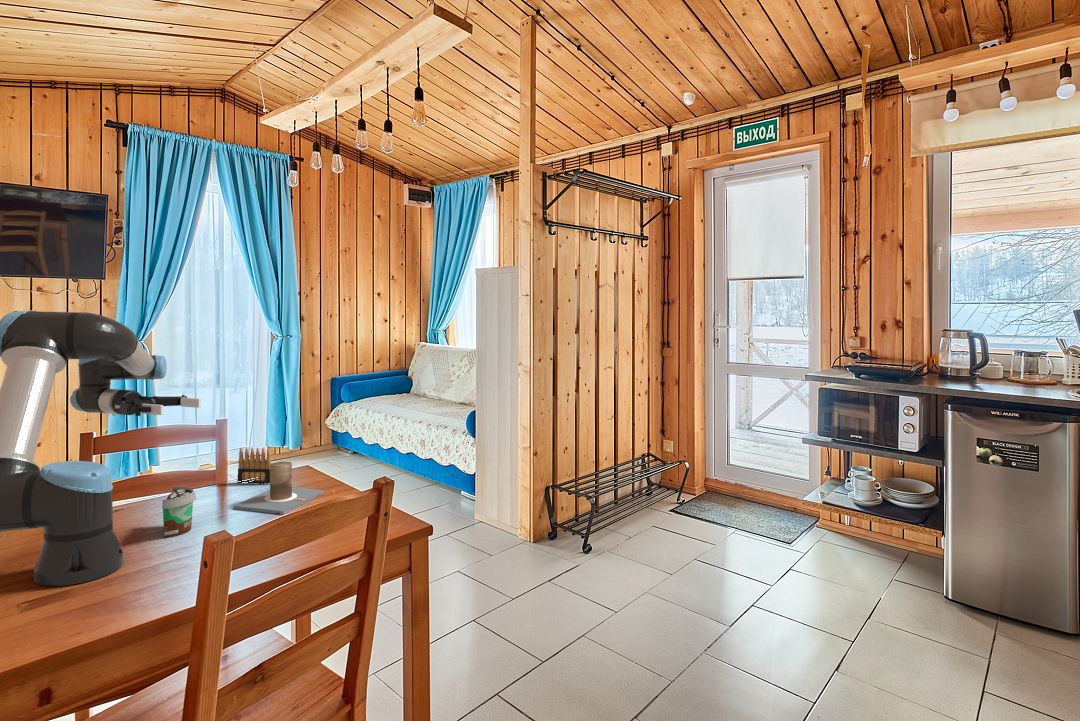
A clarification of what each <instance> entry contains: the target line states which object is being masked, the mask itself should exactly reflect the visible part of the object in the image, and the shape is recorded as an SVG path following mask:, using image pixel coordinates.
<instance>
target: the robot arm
mask: <svg viewBox="0 0 1080 721" xmlns="http://www.w3.org/2000/svg"><path fill="white" fill-rule="evenodd" d="M0 359H1V362H2V363H3V364H4V365H5V366H6V370H5V373H4V376H3V380H2V383H1V387H0V532H8V531H21V530H31V529H42V531H43V544H42V546H41V549H40V552H39V555H38V559H37V561H36V564H35V566H34V569H33V580H34V581H33V582H35V583H36V584H38V585H40V586H45V587H63V586H71V585H76V584H77V585H78V584H83V583H86V582H90V581H94V580H97V579H100V578H103V577H106V576H109V575H110V574H112V573H114V572H116V571H117V570H119V569H121V567H122V566H123V565H124V561H125V560H124V559H125V558H124V557H125V556H124V555H125V554H124V551H123V548H122V546H121V544H120V543H119V542H120V541H119V540H118V537H117V536H116V534H115V532H114V525H113V524H114V521H113V520H114V514H113V512H114V511H113V508H114V507H113V489H114V485H113V483H112V473H111V470H110V468H108V466H106V465H104V464H101V463H99V462H94V461H89V460H88V461H86V460H67V461H56V462H55V461H54V462H50V463H47V464H45V465H43V466H42V467H40V465H38V463H36V462H35V461H34V459H35V456H36V451H37V447H38V444H39V443H38V442H39V440H40V439H39V438H40V435H41V431H42V427H43V424H44V419H45V415H46V411H47V408H48V404H49V401H50V400H49V399H50V395H51V392H52V388H53V383H54V380H55V376H56V374H58V373H60V372H61V371H63V370H64V369H65V368H66V364H67V361H68V360H78V364H77V366H78V377H79V378H78V380H79V385H78V388H76V389H74V390H73V391H72V394H71V396H70V398H69V402H70V405H71V407H73V408H74V409H75V410H77V411H79V412H85V413H93V414H94V413H97V414H111V415H112V416H114V417H115V416H116V415H121V416H133V415H135V417H141V414H144V415H155V416H158V415H159V416H163V415H164V407H177V406H179V407H186V408H187V407H188V408H202V403H201V401H202V400H201V398H198V397H197V398H196V397H195V398H194V397H188V396H185V394H181V395H180V396H179V395H178V396H176V395H175V396H157V395H153V396H149V395H148V396H147V395H144V396H143V395H142V394H141V393H140V392H138V391H136V390H131V389H119V388H111V385H112V384H111V381H113V380H115V381H116V380H117V381H119V380H151V381H153V380H161V379H162V380H163V379H164V378H165V377H166V376H167V360H166V357H165V356H163V355H158V354H157V355H156V354H152V355H150V353H149V352H147V350H146V349H145V348H144V347H143V346H142V345H141V344H140V343H139V340H138V337H137V335H136V333H135V332H134V331H133V330H132V329H130V328H129V327H128V326H126V325H125V324H123V323H121V322H119V321H117V320H115V319H113V318H110V317H107V316H104V315H102V314H97V313H92V312H88V311H87V312H85V311H83V312H82V311H80V312H76V311H75V312H74V311H37V310H31V309H30V310H26V311H25V310H23V311H21V310H19V311H17V310H16V311H11V312H8V313H7V314H5V315H3V317H1V318H0Z"/></svg>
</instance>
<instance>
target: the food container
mask: <svg viewBox="0 0 1080 721" xmlns="http://www.w3.org/2000/svg"><path fill="white" fill-rule="evenodd" d="M196 496H197V495H196V493H195V491H194V489H193V488H191V487H189V486H172V491H171V493H169V494H168V495H167V498H166V499H162V504H161V509H162V516H163V517H162V519H163V520H162V522H163V538H164V539H169V537H170V538H174V537H179V536H181V535H184V534H186V533H189V532H190V531H191V530H192V523H193V508H194V502H195V500H196V499H197V497H196Z"/></svg>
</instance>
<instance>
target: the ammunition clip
mask: <svg viewBox="0 0 1080 721" xmlns="http://www.w3.org/2000/svg"><path fill="white" fill-rule="evenodd" d="M238 454H239V455H238V468H237V483H242V482H248V483H259V484H258V485H265V484H264V483H270V464H272V456H271V455H272V454H271V449H270V447H268V448H267V451H266V450H265V448H264V447H262V449H261V452H260V448H259V447H256V451H255V449H254V447H251V449H250V452H249V448H248V447H246V448H245V450H244V451H243V447H240V448H239V452H238ZM256 477H258V478H256ZM251 478H255V479H251ZM247 479H250V480H247ZM257 479H258V480H257ZM242 480H247V481H242ZM252 480H254V481H252ZM238 481H241V482H238ZM249 481H252V482H249ZM261 483H263V484H261Z"/></svg>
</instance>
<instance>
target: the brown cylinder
mask: <svg viewBox="0 0 1080 721" xmlns="http://www.w3.org/2000/svg"><path fill="white" fill-rule="evenodd" d="M292 465H293V463H292V462H291V461H275V462H271V464H270V484H269V490H270V499H272V500H284V499H288V498H290V497H292V487H293V468H292V467H293V466H292Z"/></svg>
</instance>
